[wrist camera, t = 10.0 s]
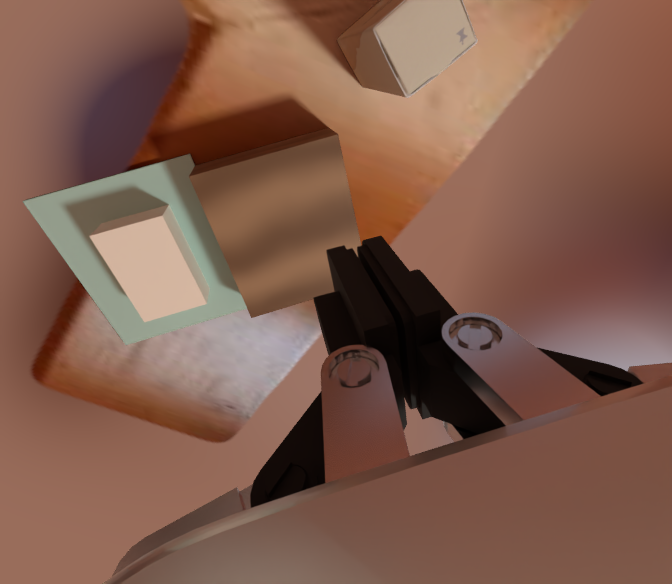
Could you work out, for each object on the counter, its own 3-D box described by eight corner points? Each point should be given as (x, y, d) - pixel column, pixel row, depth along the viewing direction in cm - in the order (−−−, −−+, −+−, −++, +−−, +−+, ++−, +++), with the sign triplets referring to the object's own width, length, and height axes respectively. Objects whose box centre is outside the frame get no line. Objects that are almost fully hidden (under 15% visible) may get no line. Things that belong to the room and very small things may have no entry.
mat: (25, 200, 30) (22, 201, 30) (190, 153, 31) (189, 154, 31) (127, 342, 39) (126, 345, 39) (254, 304, 40) (254, 306, 39)
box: (386, -6, 28) (454, -43, 19) (412, 49, 31) (484, 40, 21) (332, 41, 29) (371, 28, 20) (361, 92, 31) (408, 100, 22)
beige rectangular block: (162, 215, 30) (169, 204, 32) (89, 236, 30) (101, 223, 32) (206, 303, 35) (209, 288, 37) (144, 322, 34) (151, 305, 37)
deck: (195, 165, 32) (188, 176, 28) (328, 127, 32) (337, 134, 29) (251, 296, 39) (251, 317, 36) (358, 264, 40) (368, 282, 36)
